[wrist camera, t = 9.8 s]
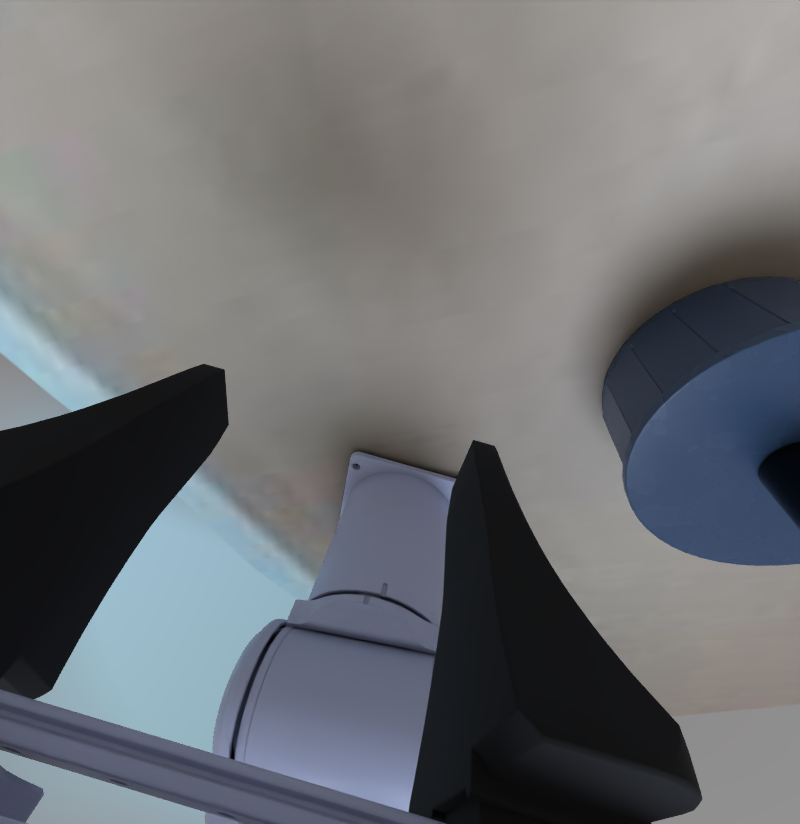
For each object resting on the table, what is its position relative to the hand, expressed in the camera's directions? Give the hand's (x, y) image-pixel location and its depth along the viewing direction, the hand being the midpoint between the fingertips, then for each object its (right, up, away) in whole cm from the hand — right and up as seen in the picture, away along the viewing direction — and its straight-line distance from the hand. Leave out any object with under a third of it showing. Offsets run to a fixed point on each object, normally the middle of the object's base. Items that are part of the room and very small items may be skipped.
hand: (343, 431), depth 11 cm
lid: (+16, -1, +3) cm, 16 cm away
